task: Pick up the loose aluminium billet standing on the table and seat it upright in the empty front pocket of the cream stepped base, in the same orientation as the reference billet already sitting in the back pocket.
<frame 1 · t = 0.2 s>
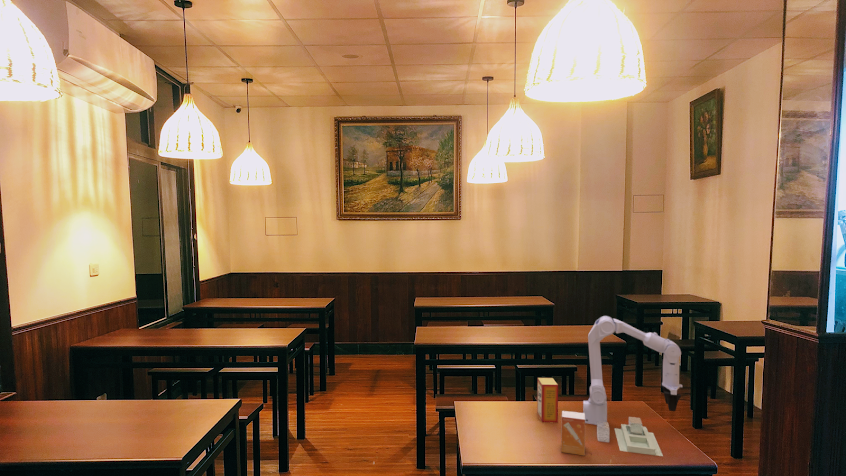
hand: (670, 407, 185), 10 cm above the table, tool pointing down, fingers open, 7 cm apart
small box: (572, 451, 170), on the table
billet: (603, 440, 178), on the table
reference billet: (635, 435, 180), point 1 cm above the table, touching cream stepped base
baking soda box: (547, 418, 199), on the table
cream stepped base: (637, 443, 175), on the table
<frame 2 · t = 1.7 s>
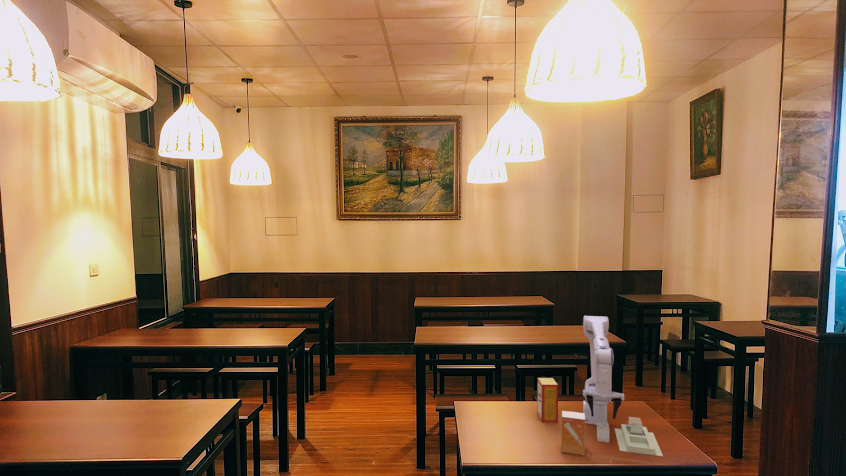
hand: (603, 416, 178), 9 cm above the table, tool pointing down, fingers open, 7 cm apart
nothing on the table moved.
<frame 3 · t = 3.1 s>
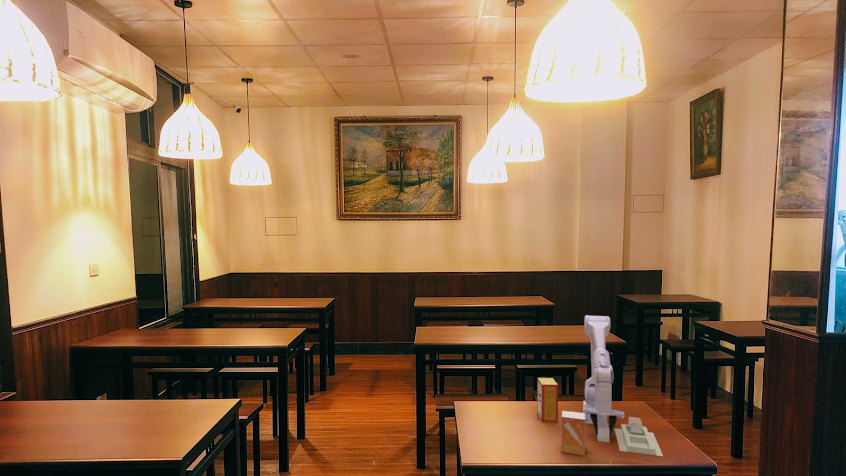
hand: (603, 434, 178), 2 cm above the table, tool pointing down, fingers closed on billet, 4 cm apart
billet: (602, 440, 178), on the table, touching gripper
everything else where it was.
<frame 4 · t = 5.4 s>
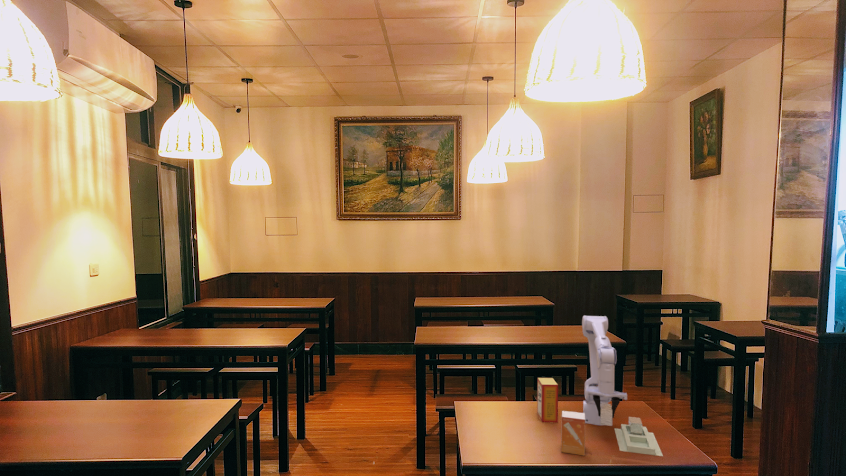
hand: (605, 416, 177), 9 cm above the table, tool pointing down, fingers closed on billet, 4 cm apart
billet: (605, 422, 177), point 7 cm above the table, touching gripper
everything else where it was.
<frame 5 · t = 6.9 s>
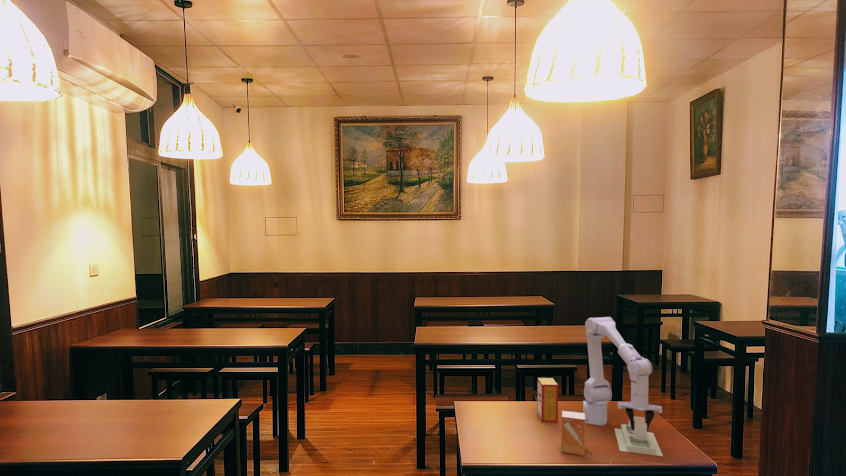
hand: (639, 430, 171), 7 cm above the table, tool pointing down, fingers closed on billet, 4 cm apart
billet: (639, 436, 171), point 5 cm above the table, touching gripper
everything else where it was.
when the fingers open (4 cm above the table, at t = 8.0 s): billet stays where it is, resting on cream stepped base.
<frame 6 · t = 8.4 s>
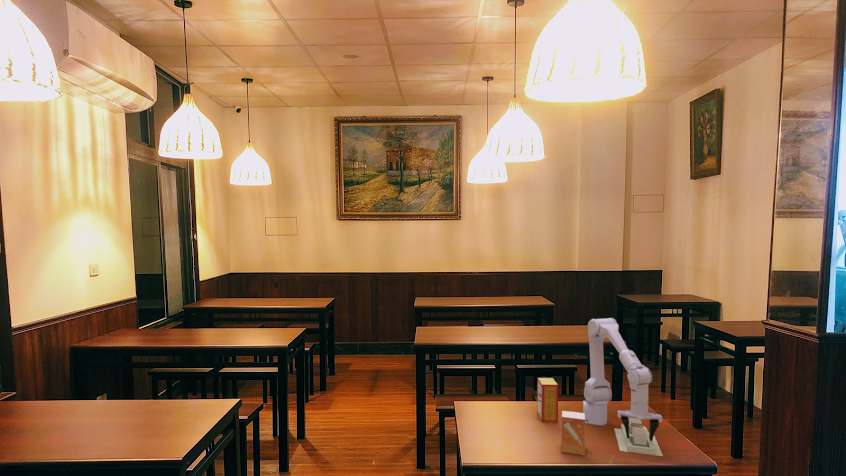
hand: (639, 438, 171), 4 cm above the table, tool pointing down, fingers open, 7 cm apart
billet: (639, 447, 171), point 1 cm above the table, touching cream stepped base
everything else where it was.
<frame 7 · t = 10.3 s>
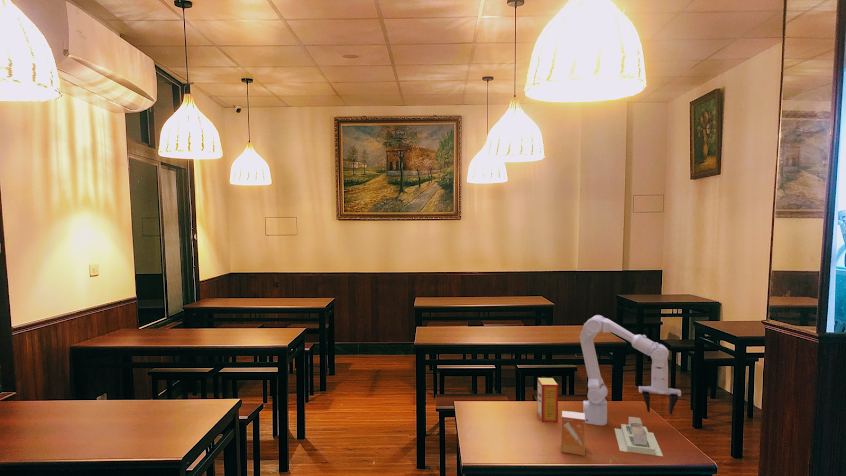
hand: (659, 412, 181), 9 cm above the table, tool pointing down, fingers open, 7 cm apart
nothing on the table moved.
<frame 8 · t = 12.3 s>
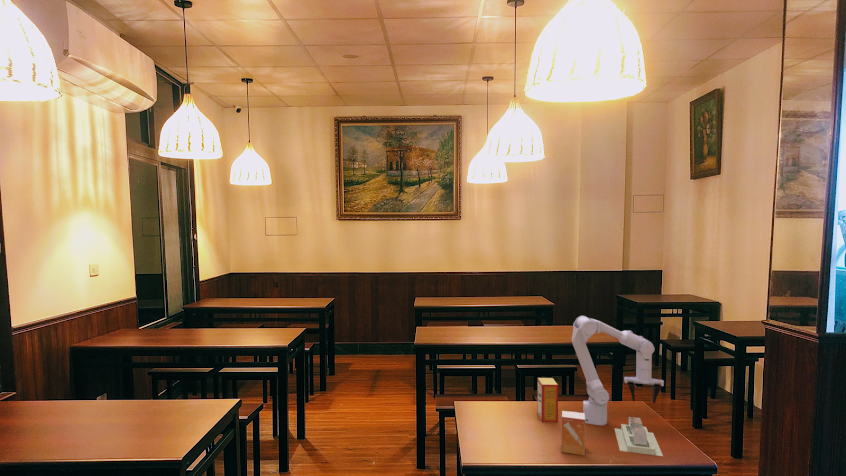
hand: (643, 401, 193), 9 cm above the table, tool pointing down, fingers open, 7 cm apart
nothing on the table moved.
at the end: billet 0.1 cm from the target spot on the cream stepped base, point 0.8 cm above the cream stepped base's base; billet tilted 0°; the gripper is holding nothing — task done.
